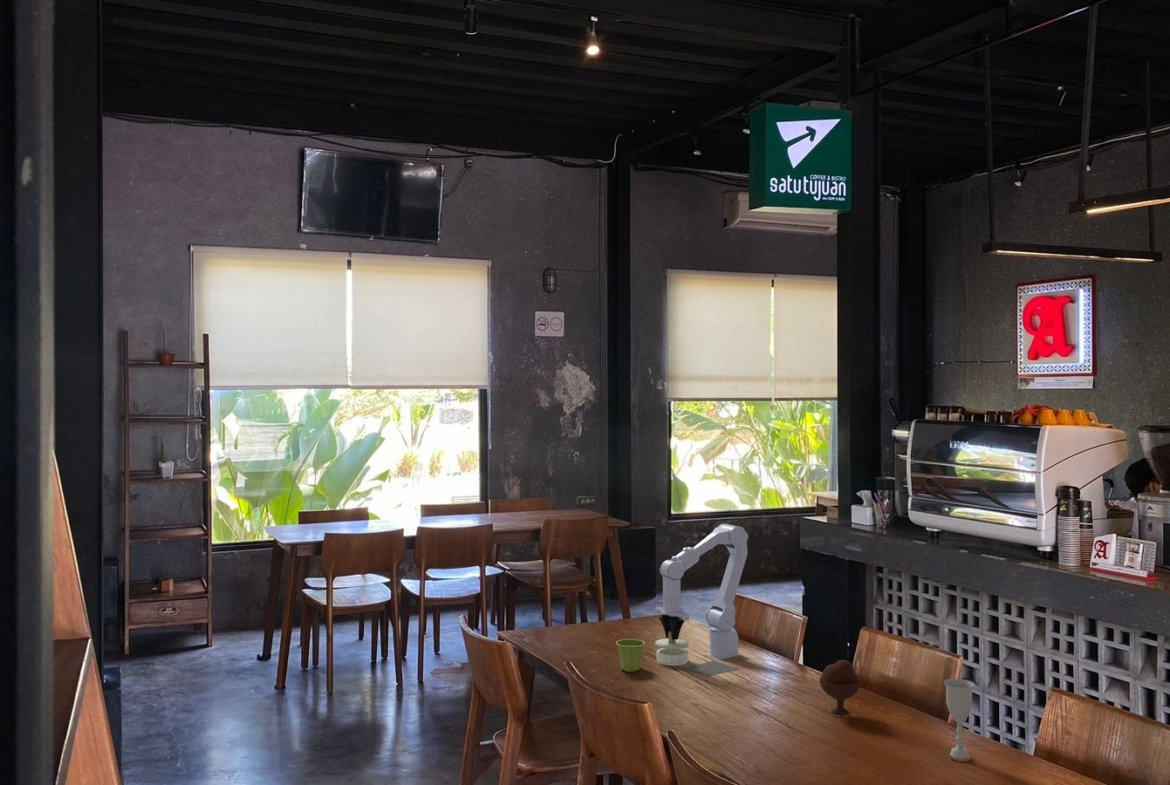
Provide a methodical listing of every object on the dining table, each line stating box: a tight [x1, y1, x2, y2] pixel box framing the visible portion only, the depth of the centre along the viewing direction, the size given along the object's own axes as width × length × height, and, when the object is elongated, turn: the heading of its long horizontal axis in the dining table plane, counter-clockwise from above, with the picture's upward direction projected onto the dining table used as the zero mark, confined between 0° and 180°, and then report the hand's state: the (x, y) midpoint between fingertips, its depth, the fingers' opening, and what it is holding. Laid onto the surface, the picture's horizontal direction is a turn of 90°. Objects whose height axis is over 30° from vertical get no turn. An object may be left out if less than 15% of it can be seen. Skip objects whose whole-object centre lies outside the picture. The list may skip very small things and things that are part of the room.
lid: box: [654, 631, 690, 649], centre depth 326 cm, size 11×11×4 cm
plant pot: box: [615, 638, 646, 673], centre depth 318 cm, size 9×9×9 cm
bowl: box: [655, 648, 689, 667], centre depth 326 cm, size 10×10×4 cm
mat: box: [682, 660, 740, 677], centre depth 317 cm, size 14×12×1 cm
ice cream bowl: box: [819, 659, 861, 716], centre depth 272 cm, size 11×11×15 cm
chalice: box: [943, 678, 975, 759], centre depth 238 cm, size 7×7×18 cm
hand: (672, 638), depth 326 cm, fingers closed on lid, 2 cm apart
